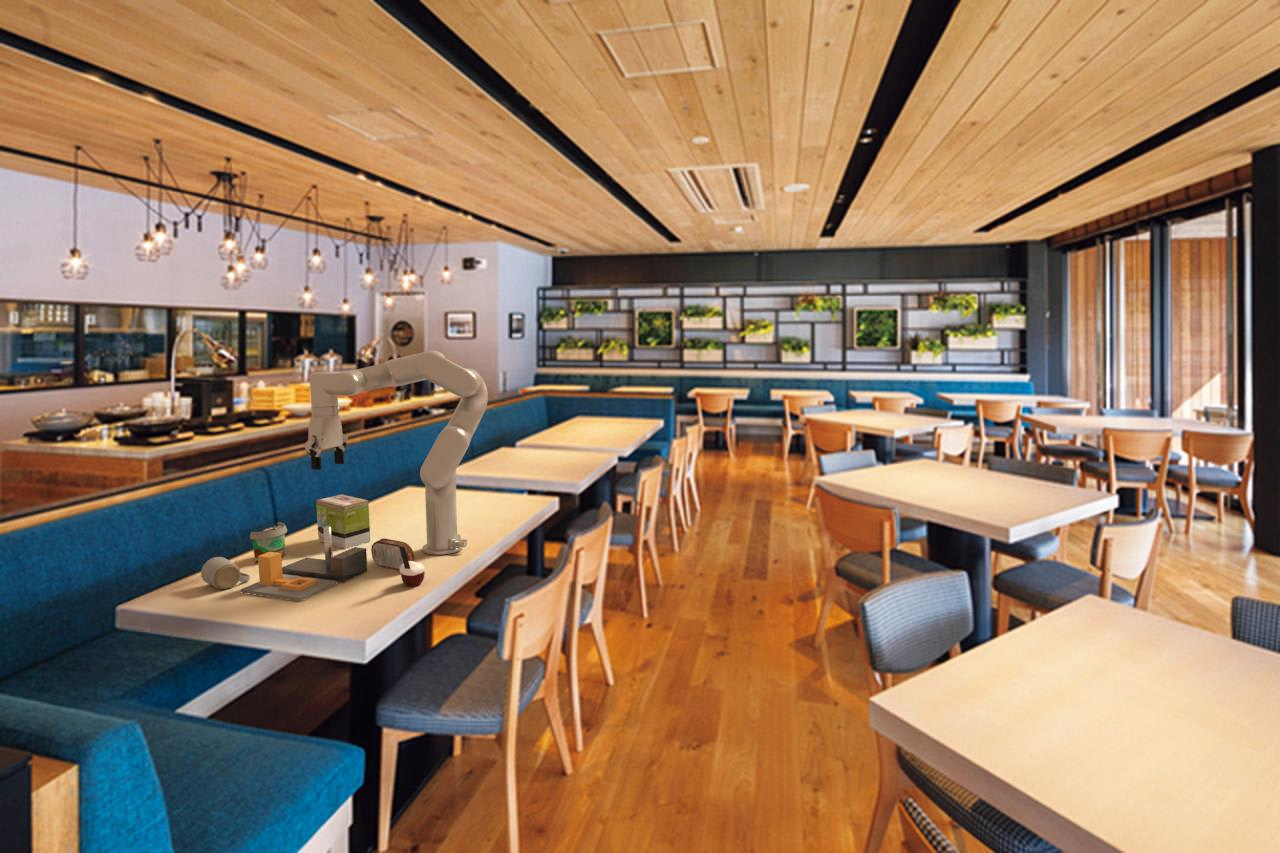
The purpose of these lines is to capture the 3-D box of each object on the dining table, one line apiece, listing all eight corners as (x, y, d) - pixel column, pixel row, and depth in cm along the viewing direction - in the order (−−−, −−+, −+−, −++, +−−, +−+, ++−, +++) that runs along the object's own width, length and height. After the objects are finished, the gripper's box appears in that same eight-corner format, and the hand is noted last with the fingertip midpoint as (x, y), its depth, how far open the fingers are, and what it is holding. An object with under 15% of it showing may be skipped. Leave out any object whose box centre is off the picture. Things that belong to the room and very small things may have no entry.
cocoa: (418, 579, 195) (417, 537, 194) (432, 582, 191) (431, 540, 190) (389, 587, 187) (388, 544, 186) (404, 591, 183) (403, 547, 182)
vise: (367, 571, 200) (365, 525, 198) (343, 583, 190) (340, 534, 188) (306, 563, 206) (304, 519, 204) (280, 574, 197) (277, 527, 195)
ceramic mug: (215, 593, 182) (213, 566, 181) (201, 587, 187) (199, 560, 186) (255, 582, 191) (254, 556, 190) (241, 577, 195) (240, 551, 195)
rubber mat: (336, 584, 189) (336, 580, 189) (300, 601, 177) (300, 597, 177) (279, 576, 195) (278, 573, 195) (240, 592, 183) (240, 589, 183)
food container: (269, 565, 204) (267, 533, 203) (251, 564, 206) (249, 532, 204) (297, 553, 216) (295, 522, 215) (280, 552, 218) (278, 521, 216)
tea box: (317, 542, 228) (314, 499, 226) (344, 535, 237) (341, 493, 235) (345, 549, 220) (342, 505, 218) (371, 541, 229) (369, 499, 227)
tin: (415, 570, 201) (414, 542, 200) (408, 573, 198) (406, 545, 197) (378, 562, 208) (376, 536, 206) (370, 566, 205) (368, 538, 204)
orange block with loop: (316, 583, 187) (314, 555, 186) (300, 591, 181) (298, 562, 180) (274, 578, 191) (272, 550, 190) (256, 585, 185) (254, 557, 184)
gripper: (335, 408, 219) (338, 461, 221) (293, 414, 202) (297, 471, 205) (354, 409, 217) (357, 462, 219) (313, 415, 200) (317, 472, 202)
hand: (328, 466), depth 212 cm, fingers open, 9 cm apart
